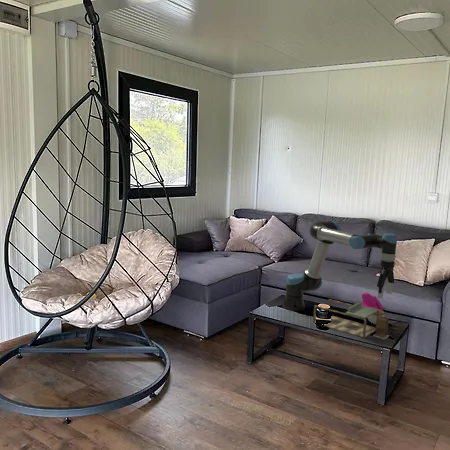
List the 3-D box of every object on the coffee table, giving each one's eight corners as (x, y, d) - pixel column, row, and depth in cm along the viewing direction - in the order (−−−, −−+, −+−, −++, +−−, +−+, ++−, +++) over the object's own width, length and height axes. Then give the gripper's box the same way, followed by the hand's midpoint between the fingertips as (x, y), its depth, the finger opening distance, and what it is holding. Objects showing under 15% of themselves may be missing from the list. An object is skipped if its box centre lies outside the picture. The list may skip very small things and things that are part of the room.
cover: (345, 313, 269) (346, 308, 268) (359, 306, 284) (360, 301, 283) (364, 318, 261) (365, 313, 260) (378, 310, 276) (378, 305, 276)
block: (383, 337, 262) (385, 320, 261) (375, 335, 265) (377, 318, 264) (387, 335, 266) (388, 318, 265) (378, 332, 269) (380, 316, 268)
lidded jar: (384, 326, 282) (386, 312, 281) (367, 324, 284) (368, 310, 283) (382, 320, 293) (383, 306, 291) (365, 318, 295) (366, 305, 294)
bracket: (361, 307, 318) (362, 293, 316) (367, 304, 325) (369, 291, 324) (377, 312, 310) (378, 297, 308) (383, 309, 317) (385, 295, 316)
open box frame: (312, 322, 284) (314, 305, 282) (328, 315, 299) (329, 298, 297) (364, 337, 262) (366, 319, 260) (377, 329, 277) (379, 311, 276)
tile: (373, 336, 265) (373, 335, 265) (377, 333, 271) (377, 332, 271) (384, 339, 261) (384, 338, 261) (389, 336, 266) (389, 335, 266)
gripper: (386, 264, 248) (382, 301, 251) (402, 258, 266) (398, 292, 269) (373, 262, 252) (369, 298, 255) (389, 256, 271) (386, 290, 274)
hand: (384, 295), depth 262 cm, fingers open, 13 cm apart
